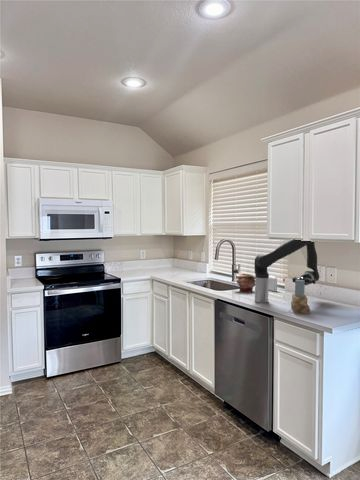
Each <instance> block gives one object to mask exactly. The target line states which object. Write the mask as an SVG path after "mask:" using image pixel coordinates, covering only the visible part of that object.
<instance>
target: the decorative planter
mask: <svg viewBox="0 0 360 480" xmlns="http://www.w3.org/2000/svg"><path fill="white" fill-rule="evenodd" d="M235 281H236V284H238V287H239V292H242V293H252V292H253V290H254V288H255V276H254V275H253V274H248V273H247V274H246V273H242V274H240V275H238V276H237V279H236V280H235Z"/></svg>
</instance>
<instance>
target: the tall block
mask: <svg viewBox="0 0 360 480" xmlns="http://www.w3.org/2000/svg"><path fill="white" fill-rule="evenodd" d="M294 284H295V285H294V294H295V296H297V297H303V296H304V295H305V286H306V285H305V280H295V282H294Z"/></svg>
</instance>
